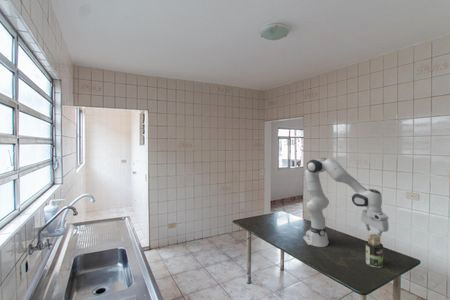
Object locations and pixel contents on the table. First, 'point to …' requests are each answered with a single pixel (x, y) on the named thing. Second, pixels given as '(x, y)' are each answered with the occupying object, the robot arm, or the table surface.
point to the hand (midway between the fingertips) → (373, 232)
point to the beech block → (374, 239)
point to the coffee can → (374, 255)
